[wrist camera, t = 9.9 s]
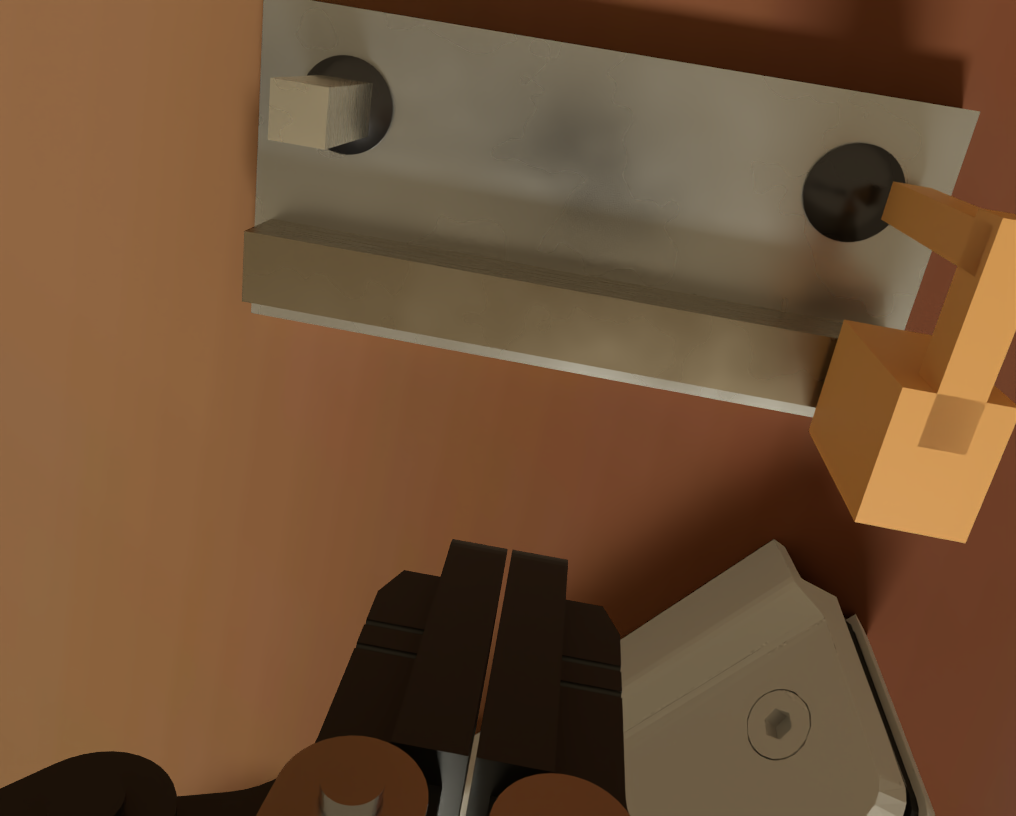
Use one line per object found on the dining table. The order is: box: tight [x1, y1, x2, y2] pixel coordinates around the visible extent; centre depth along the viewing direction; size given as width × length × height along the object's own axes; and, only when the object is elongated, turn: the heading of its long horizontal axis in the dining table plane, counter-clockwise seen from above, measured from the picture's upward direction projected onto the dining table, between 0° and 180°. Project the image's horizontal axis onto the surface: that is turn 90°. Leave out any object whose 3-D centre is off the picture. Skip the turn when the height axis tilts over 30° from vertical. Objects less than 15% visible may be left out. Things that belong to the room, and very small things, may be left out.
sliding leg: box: [809, 181, 1016, 543], centre depth 21 cm, size 2×7×7 cm, turn 171°
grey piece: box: [242, 0, 980, 417], centre depth 23 cm, size 19×9×5 cm, turn 81°
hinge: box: [460, 540, 935, 816], centre depth 29 cm, size 17×5×10 cm, turn 133°
